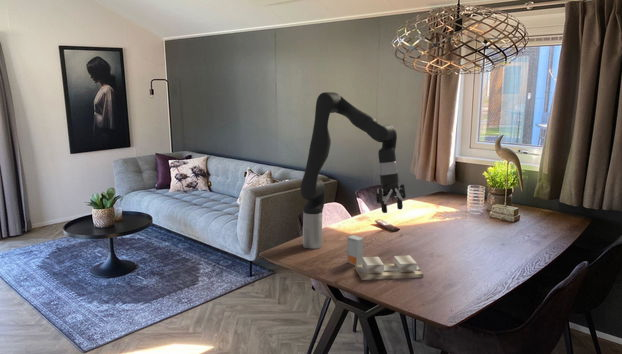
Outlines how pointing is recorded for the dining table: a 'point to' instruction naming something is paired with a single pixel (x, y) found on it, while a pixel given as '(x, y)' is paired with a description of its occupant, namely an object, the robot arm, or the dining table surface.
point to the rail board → (388, 268)
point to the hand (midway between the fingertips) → (392, 211)
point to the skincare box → (355, 250)
